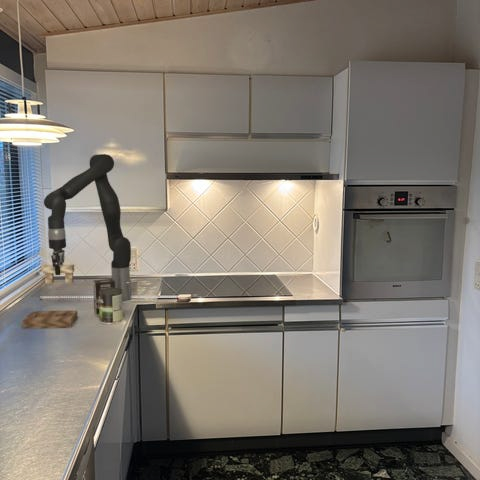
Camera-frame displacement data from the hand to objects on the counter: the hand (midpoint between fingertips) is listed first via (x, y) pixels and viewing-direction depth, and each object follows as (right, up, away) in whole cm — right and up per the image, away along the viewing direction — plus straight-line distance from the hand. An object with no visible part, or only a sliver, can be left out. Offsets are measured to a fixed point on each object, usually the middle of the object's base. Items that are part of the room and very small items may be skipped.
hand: (59, 273), depth 226 cm
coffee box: (+21, -19, +2) cm, 29 cm away
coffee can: (+27, -21, -8) cm, 35 cm away
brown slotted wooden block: (+1, -21, -13) cm, 25 cm away
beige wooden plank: (0, -4, +1) cm, 4 cm away
